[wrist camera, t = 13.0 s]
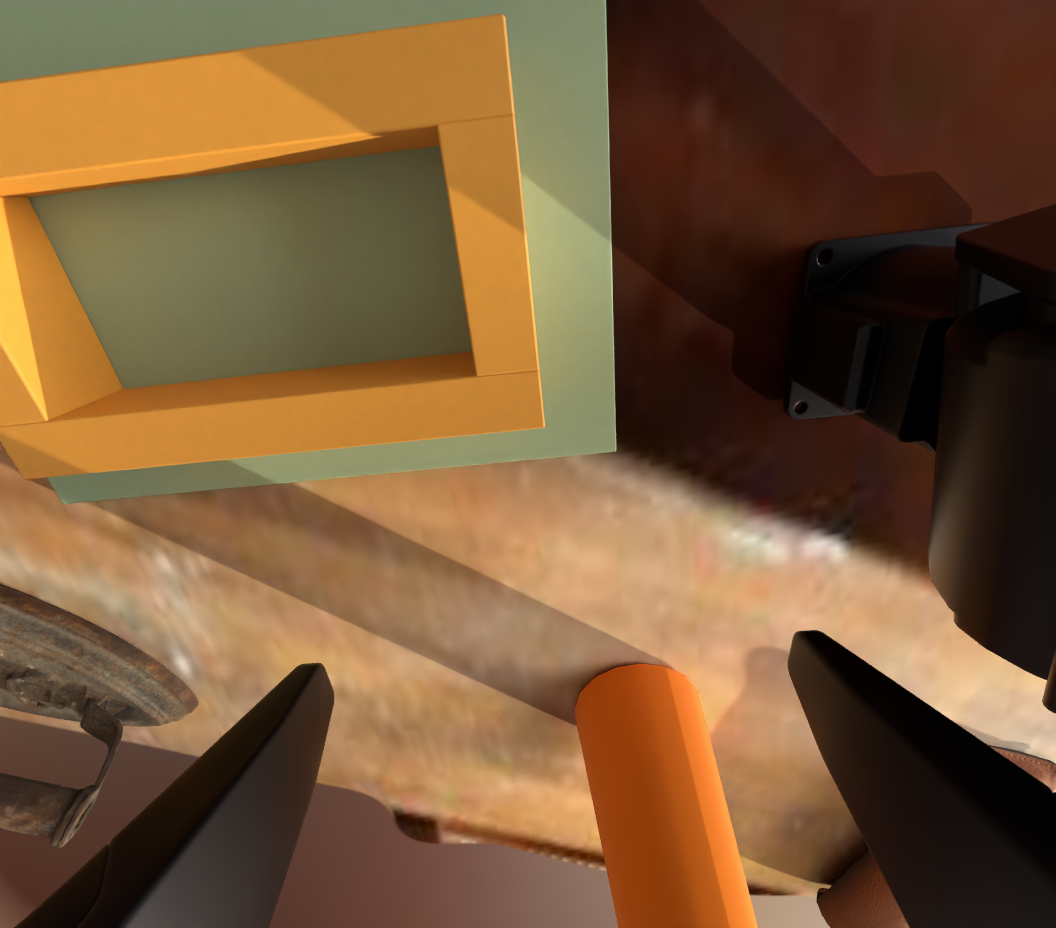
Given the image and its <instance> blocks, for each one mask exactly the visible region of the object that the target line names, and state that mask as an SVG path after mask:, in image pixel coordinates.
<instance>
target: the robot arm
mask: <svg viewBox="0 0 1056 928" xmlns="http://www.w3.org/2000/svg"><path fill="white" fill-rule="evenodd" d="M822 250H825V251H826V255H827V256H826V258H825V260H824V261H823V262H822V263H819V262H818V256H819V253H820V252H821V251H822ZM784 373H785V375H786V376H787V384H786V391H785V398H784V405H783V406H784V411H785V413H786V414H787V415H789V416H790V417H792V418H793V419H798V420H800V419H811V418H821V417H831V416H842V415H852V414H855V415H857V416H859V417H860V418H862V419H864V420H865V421H867V422H869V423H871V424H872V425H874V426H876V427H877V428H879V429H881V430H882V431H884V432H886V433H888V434H889V435H891V436H893V437H894V438H896V439H898V440H899V441H901V442H915V443H917V444H919V445H921V446H922V447H924V448H926V449H928V450H929V451H931V452H933V453H935V454H936V460H935V473H934V486H933V499H932V512H931V525H930V538H929V551H928V559H929V569H930V579H931V581H932V583H933V584H934V586H935V587H936V589H937V590H938V592H939V593H940V595H941V596H942V598H943V599H944V601H945V602H946V604H947V605H948V607H949V608H950V609H951V610H952V611H953V612H954V622H955V624H956V625H957V626H958V627H959V628H960V629H961V630H962V631H964V632H965V633H966V634H968V635H969V636H970V637H971V638H973V639H974V640H975V641H977V642H978V643H979V644H980V645H982V646H983V647H984V648H986V649H987V650H989V651H991V652H993V653H995V654H996V655H998V656H1000V657H1002V658H1003V659H1005V660H1007V661H1009V662H1011V663H1012V664H1014V665H1016V666H1018V667H1020V668H1021V669H1023V670H1025V671H1027V672H1029V673H1031V674H1033V675H1035V676H1038V677H1040V678H1043V679H1045V680H1047V684H1046V688H1045V692H1044V696H1043V700H1042V702H1043V705H1044V706H1045V707H1046V708H1047V709H1048V710H1050V711H1052V712H1053V713H1056V204H1054V205H1051V206H1048V207H1045V208H1041V209H1038V210H1035V211H1032V212H1028V213H1025V214H1022V215H1019V216H1015V217H1012V218H1009V219H1006V220H1002V221H999V222H984V223H975V224H966V225H957V226H948V227H939V228H930V229H921V230H912V231H903V232H894V233H885V234H876V235H867V236H858V237H849V238H840V239H831V240H822V241H818V242H815V243H814V244H813V245H811V246H810V247H809V249H808V250H807V252H806V255H805V258H804V265H803V272H802V279H801V286H800V293H799V300H798V304H797V305H796V306H795V307H794V308H793V311H792V318H791V325H790V333H789V340H788V347H787V354H786V362H785V369H784ZM799 402H803V404H802V406H801V408H799V409H798V410H795V406H796V405H797V404H798V403H799ZM788 671H789V674H790V677H791V680H792V682H793V685H794V687H795V690H796V692H797V695H798V697H799V700H800V702H801V705H802V707H803V710H804V712H805V715H806V718H807V720H808V723H809V725H810V728H811V730H812V733H813V735H814V738H815V740H816V743H817V745H818V748H819V750H820V752H821V755H822V757H823V759H824V761H825V763H826V765H827V768H828V770H829V772H830V774H831V776H832V778H833V779H834V781H835V783H836V785H837V787H838V789H839V791H840V793H841V795H842V797H843V799H844V801H845V803H846V805H847V807H848V809H849V811H850V813H851V815H852V817H853V818H854V820H855V822H856V824H857V826H858V828H859V830H860V832H861V834H862V836H863V838H864V840H865V842H866V844H867V846H868V848H869V850H870V852H871V854H872V856H873V857H874V859H875V861H876V863H877V865H878V867H879V869H880V871H881V873H882V875H883V877H884V879H885V881H886V883H887V885H888V887H889V889H890V891H891V893H892V895H893V896H894V898H895V900H896V902H897V904H898V906H899V908H900V910H901V912H902V914H903V916H904V918H905V920H906V922H907V924H908V926H909V928H1056V792H1052V790H1051V789H1050V787H1048V786H1047V785H1045V784H1044V783H1042V782H1041V781H1039V780H1038V779H1037V778H1035V777H1034V776H1032V775H1031V774H1029V773H1028V772H1026V771H1025V770H1023V769H1022V768H1020V767H1019V766H1017V765H1016V764H1015V763H1013V762H1012V761H1010V760H1009V759H1007V758H1006V757H1004V756H1003V755H1001V754H1000V753H998V752H997V751H996V750H994V749H993V748H991V747H990V746H988V745H987V744H985V743H984V742H982V741H981V740H979V739H978V738H976V737H975V736H974V735H972V734H971V733H969V732H968V731H966V730H965V729H963V728H962V727H960V726H959V725H957V724H956V723H955V722H953V721H952V720H950V719H949V718H947V717H946V716H944V715H943V714H941V713H940V712H938V711H937V710H935V709H934V708H933V707H931V706H930V705H928V704H927V703H925V702H924V701H922V700H921V699H919V698H918V697H916V696H915V695H914V694H912V693H911V692H909V691H908V690H906V689H905V688H903V687H902V686H900V685H899V684H897V683H896V682H894V681H893V680H892V679H890V678H889V677H887V676H886V675H884V674H883V673H881V672H880V671H878V670H877V669H875V668H874V667H873V666H871V665H870V664H868V663H867V662H865V661H864V660H862V659H861V658H859V657H858V656H856V655H855V654H854V653H852V652H851V651H849V650H848V649H846V648H845V647H843V646H842V645H840V644H839V643H837V642H836V641H834V640H833V639H832V638H830V637H829V636H827V635H826V634H824V633H823V632H820V631H817V630H810V631H798V632H796V633H795V634H794V636H793V640H792V645H791V649H790V654H789V658H788ZM333 705H334V691H333V688H332V685H331V683H330V680H329V677H328V675H327V672H326V670H325V667H324V666H323V665H322V664H321V663H309V664H301V665H299V666H298V667H296V668H295V669H294V670H293V671H292V672H291V673H290V674H289V675H288V676H286V677H285V678H284V679H283V680H282V681H281V682H280V683H279V684H278V685H277V686H276V687H275V688H274V689H273V690H271V691H270V692H269V693H268V694H267V695H266V696H265V697H264V698H263V699H262V700H261V701H260V702H259V703H258V704H256V705H255V706H254V707H253V708H252V709H251V710H250V711H249V712H248V713H247V714H246V715H245V716H244V717H243V718H241V719H240V720H239V721H238V722H237V723H236V724H235V725H234V726H233V727H232V728H231V729H230V730H229V731H228V732H226V733H225V734H224V735H223V736H222V737H221V738H220V739H219V740H218V741H217V742H216V743H215V744H214V745H213V746H211V747H210V748H209V749H208V750H207V751H206V752H205V753H204V754H203V755H202V756H201V757H200V758H199V759H198V760H196V761H195V762H194V763H193V764H192V765H191V766H190V767H189V768H188V769H187V770H186V771H185V772H184V773H183V774H182V775H180V776H179V777H178V778H177V779H176V780H175V781H174V782H173V783H172V784H171V785H170V786H169V787H168V788H167V789H165V790H164V791H163V792H162V793H161V794H160V795H159V796H158V797H157V798H156V799H155V800H154V801H153V802H151V803H150V804H149V805H148V806H147V807H146V808H145V809H144V810H143V811H142V812H141V813H140V814H139V815H138V816H137V817H136V818H134V819H133V820H132V821H131V822H130V823H129V824H128V825H127V826H126V827H125V828H124V829H123V830H122V831H120V832H119V833H118V834H117V835H116V836H115V837H114V838H113V839H112V840H111V843H110V844H108V845H106V846H104V847H103V848H102V849H101V850H100V851H99V852H98V853H97V854H96V855H94V856H93V857H92V858H91V859H90V860H89V861H88V862H87V863H86V864H85V865H84V866H83V867H82V868H81V869H80V870H79V871H77V872H76V873H75V874H74V875H73V876H72V877H71V878H69V879H68V880H67V881H66V882H65V883H64V884H63V885H62V886H61V887H60V888H58V889H57V890H56V891H55V892H54V893H53V894H52V895H51V896H50V897H49V898H47V899H46V900H45V901H44V902H43V903H42V904H41V905H40V906H39V907H38V908H37V909H35V910H34V911H33V912H32V913H31V914H29V915H28V916H27V917H26V918H25V919H24V920H22V921H21V922H20V923H19V924H18V925H17V926H16V927H14V928H269V926H270V923H271V920H272V917H273V913H274V911H275V907H276V904H277V901H278V898H279V895H280V892H281V889H282V886H283V883H284V880H285V877H286V874H287V871H288V868H289V865H290V862H291V859H292V856H293V853H294V850H295V847H296V844H297V840H298V838H299V835H300V831H301V828H302V825H303V822H304V819H305V816H306V813H307V810H308V807H309V804H310V801H311V798H312V794H313V791H314V788H315V784H316V780H317V776H318V772H319V767H320V763H321V758H322V754H323V750H324V745H325V741H326V736H327V732H328V727H329V723H330V718H331V714H332V710H333Z"/></svg>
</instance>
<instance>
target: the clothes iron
mask: <svg viewBox="0 0 1056 928" xmlns="http://www.w3.org/2000/svg"><path fill="white" fill-rule="evenodd" d="M197 706H198V700H197V698H196V697H195V695H194V694H193V693H192V691H191V690H190V689H189V688H188V687H187V686H186V685H185V684H184V683H183V682H182V681H181V680H180V679H179V678H177V677H176V676H175V675H174V674H173V673H171V672H170V671H169V670H168V669H166V668H165V667H164V666H163V665H161V664H160V663H158V662H157V661H156V660H154V659H153V658H151V657H150V656H148V655H147V654H145V653H144V652H142V651H141V650H139V649H137V648H136V647H134V646H132V645H131V644H129V643H127V642H126V641H124V640H122V639H120V638H118V637H116V636H114V635H113V634H111V633H109V632H107V631H105V630H103V629H101V628H99V627H97V626H95V625H93V624H91V623H89V622H87V621H85V620H83V619H81V618H79V617H77V616H74V615H72V614H69V613H67V612H65V611H63V610H60V609H58V608H56V607H54V606H52V605H49V604H47V603H44V602H41V601H39V600H37V599H35V598H33V597H31V596H28V595H25V594H23V593H20V592H18V591H15V590H12V589H9V588H6V587H3V586H0V707H4V708H9V709H13V710H18V711H22V712H27V713H31V714H36V715H42V716H47V717H52V718H58V719H64V720H71V721H78V722H81V723H80V726H81V728H83V729H84V730H85V731H86V732H87V733H89V734H91V735H93V736H94V737H96V738H98V739H99V740H101V741H103V742H105V743H106V744H107V745H108V748H109V751H108V756H107V758H106V761H105V763H104V765H103V767H102V770H101V772H100V775H99V777H98V780H97V782H96V783H95V785H91V786H88V787H86V788H84V789H80V790H76V789H73V788H68V787H63V786H60V785H55V784H50V783H46V782H41V781H37V780H30V779H26V778H22V777H17V776H12V775H8V774H3V773H0V828H2V829H6V830H10V831H15V832H20V833H25V834H31V835H36V836H42V837H50V838H51V839H50V844H51V846H52V847H63V846H64V845H65V844H66V843H67V842H68V841H69V840H70V839H71V838H72V837H73V836H74V834H75V833H76V832H77V831H78V829H79V828H80V826H81V824H82V823H83V821H84V819H85V817H86V816H87V813H88V812H89V811H90V810H91V808H92V807H93V804H94V802H95V800H96V798H97V795H98V792H99V790H100V788H101V786H102V783H103V781H104V779H105V777H106V775H107V772H108V770H109V768H110V766H111V764H112V762H113V760H114V759H115V757H116V754H117V748H118V746H119V743H120V741H121V738H122V732H123V726H159V725H163V724H167V723H170V722H174V721H178V720H180V719H182V718H183V717H184V716H186V715H187V714H189V713H191V712H192V711H193V710H194V709H195V708H196V707H197ZM122 725H123V726H122Z"/></svg>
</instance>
